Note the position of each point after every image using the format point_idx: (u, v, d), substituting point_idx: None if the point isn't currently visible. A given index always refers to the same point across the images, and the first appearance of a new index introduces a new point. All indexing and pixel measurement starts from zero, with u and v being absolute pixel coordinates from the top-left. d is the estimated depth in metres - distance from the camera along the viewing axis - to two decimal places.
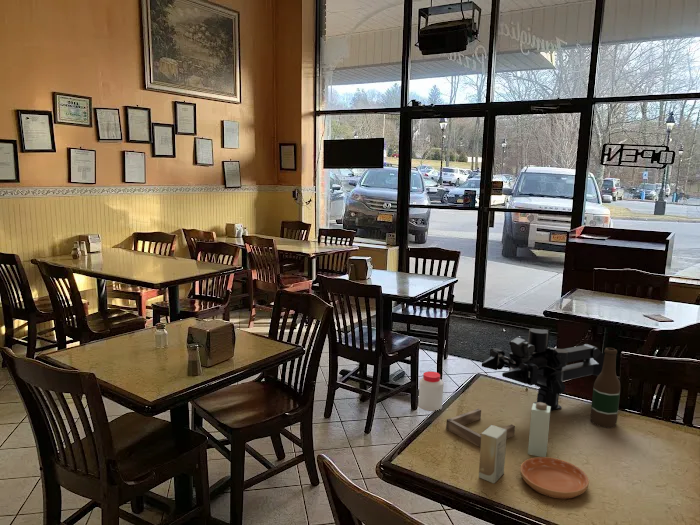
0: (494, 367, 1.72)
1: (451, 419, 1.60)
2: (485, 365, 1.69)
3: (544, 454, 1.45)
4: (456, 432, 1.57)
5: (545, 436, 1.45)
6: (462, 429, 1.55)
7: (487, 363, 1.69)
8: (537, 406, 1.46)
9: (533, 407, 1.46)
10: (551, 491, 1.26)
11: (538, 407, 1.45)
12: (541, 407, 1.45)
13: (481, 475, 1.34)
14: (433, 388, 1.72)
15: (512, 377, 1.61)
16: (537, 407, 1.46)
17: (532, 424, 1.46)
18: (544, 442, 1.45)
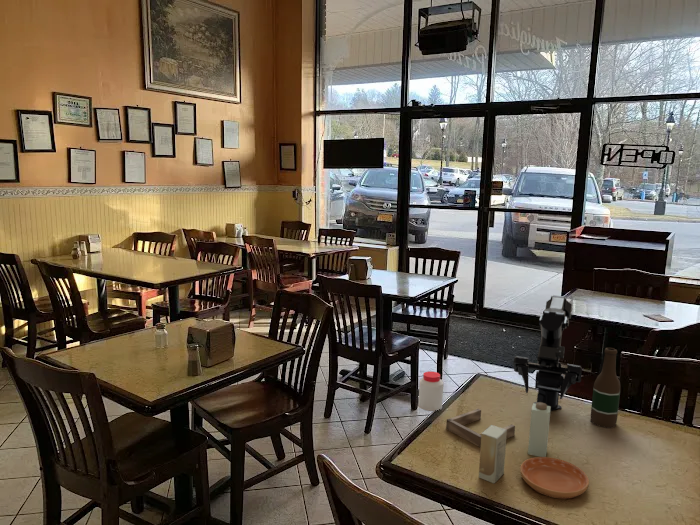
0: None
1: (451, 419, 1.60)
2: None
3: (544, 454, 1.45)
4: (456, 432, 1.57)
5: (545, 436, 1.45)
6: (462, 429, 1.55)
7: None
8: (537, 406, 1.46)
9: (533, 407, 1.46)
10: (551, 491, 1.26)
11: (538, 407, 1.45)
12: (541, 407, 1.45)
13: (481, 475, 1.34)
14: (433, 388, 1.72)
15: (565, 390, 1.53)
16: (537, 407, 1.46)
17: (532, 424, 1.46)
18: (544, 442, 1.45)
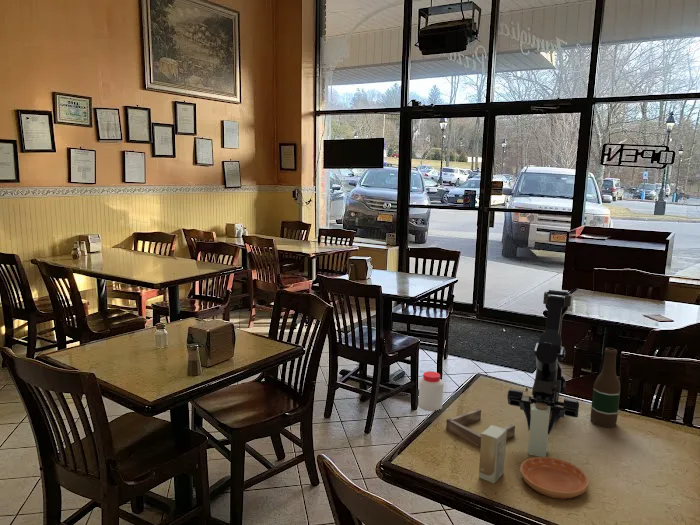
0: None
1: (451, 419, 1.60)
2: None
3: (544, 454, 1.45)
4: (456, 432, 1.57)
5: (545, 436, 1.45)
6: (462, 429, 1.55)
7: None
8: (537, 406, 1.46)
9: (533, 407, 1.46)
10: (551, 491, 1.26)
11: (538, 407, 1.45)
12: (541, 407, 1.45)
13: (481, 475, 1.34)
14: (433, 388, 1.72)
15: (553, 425, 1.47)
16: (537, 407, 1.46)
17: (532, 424, 1.46)
18: (544, 442, 1.45)
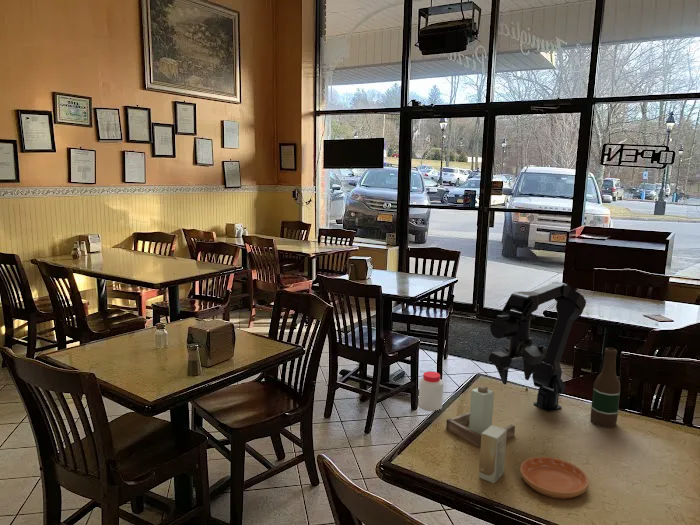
0: None
1: (451, 419, 1.60)
2: None
3: (480, 434, 1.56)
4: (456, 432, 1.57)
5: (480, 417, 1.55)
6: (462, 429, 1.55)
7: None
8: (478, 388, 1.57)
9: (476, 389, 1.58)
10: (551, 491, 1.26)
11: (478, 389, 1.57)
12: (480, 389, 1.56)
13: (481, 475, 1.34)
14: (433, 388, 1.72)
15: None
16: (477, 389, 1.57)
17: (471, 404, 1.58)
18: (480, 423, 1.56)
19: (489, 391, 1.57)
